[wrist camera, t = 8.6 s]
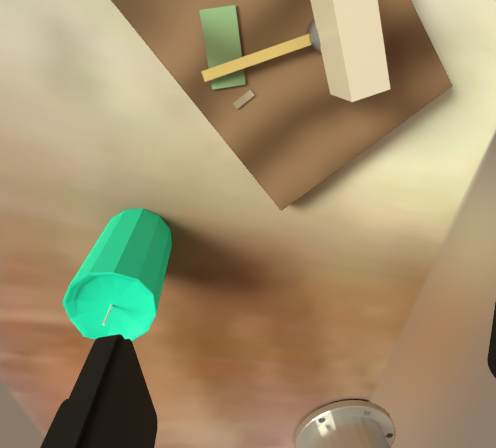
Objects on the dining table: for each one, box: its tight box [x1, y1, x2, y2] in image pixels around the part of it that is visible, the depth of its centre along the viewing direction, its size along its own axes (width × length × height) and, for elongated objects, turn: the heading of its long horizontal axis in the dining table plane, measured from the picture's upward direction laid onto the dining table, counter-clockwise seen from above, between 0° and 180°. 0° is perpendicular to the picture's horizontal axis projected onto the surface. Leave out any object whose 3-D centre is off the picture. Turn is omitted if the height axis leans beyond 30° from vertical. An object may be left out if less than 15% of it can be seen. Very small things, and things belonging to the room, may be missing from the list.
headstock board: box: [111, 0, 452, 211], centre depth 27 cm, size 22×16×3 cm
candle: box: [62, 209, 172, 341], centre depth 29 cm, size 6×6×12 cm
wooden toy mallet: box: [201, 0, 390, 102], centre depth 23 cm, size 10×7×7 cm
